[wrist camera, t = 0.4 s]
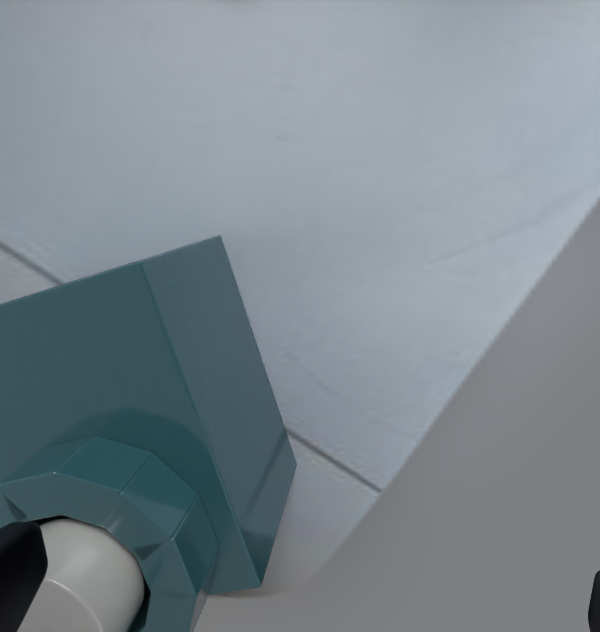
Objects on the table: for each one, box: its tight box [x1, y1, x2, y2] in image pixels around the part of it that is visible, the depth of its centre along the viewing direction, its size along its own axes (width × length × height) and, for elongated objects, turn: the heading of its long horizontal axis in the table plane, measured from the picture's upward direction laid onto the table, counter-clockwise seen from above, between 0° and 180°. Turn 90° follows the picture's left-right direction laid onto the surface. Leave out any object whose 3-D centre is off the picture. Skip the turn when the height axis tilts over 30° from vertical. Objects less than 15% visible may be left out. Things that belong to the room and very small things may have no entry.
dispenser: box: [0, 236, 297, 632], centre depth 18 cm, size 11×8×9 cm
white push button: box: [17, 518, 144, 632], centre depth 13 cm, size 4×4×2 cm
